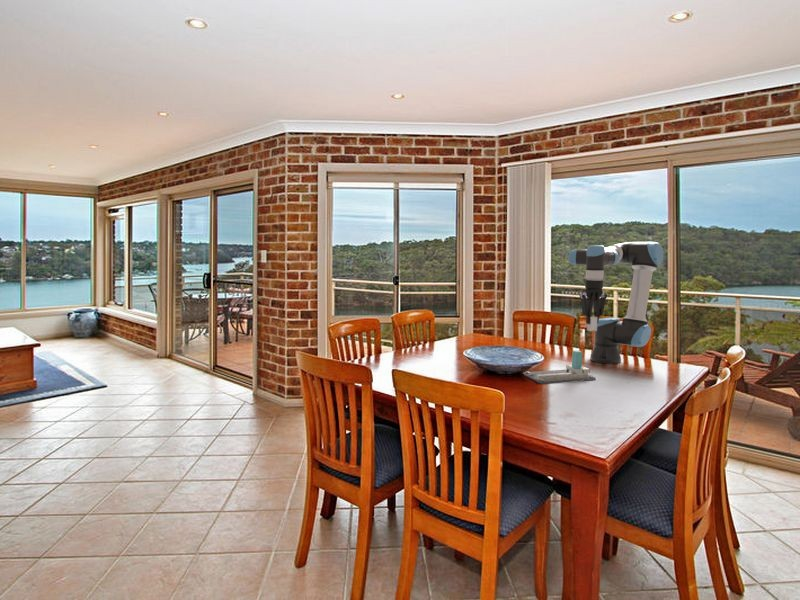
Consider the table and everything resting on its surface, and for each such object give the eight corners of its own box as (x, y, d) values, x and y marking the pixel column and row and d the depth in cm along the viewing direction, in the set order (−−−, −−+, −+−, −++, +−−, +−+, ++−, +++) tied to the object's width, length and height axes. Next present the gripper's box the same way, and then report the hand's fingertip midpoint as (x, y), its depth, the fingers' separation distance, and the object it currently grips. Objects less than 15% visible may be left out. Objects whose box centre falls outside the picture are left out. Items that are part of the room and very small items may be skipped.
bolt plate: (575, 371, 232) (575, 367, 232) (595, 379, 217) (595, 376, 216) (523, 374, 226) (523, 371, 225) (540, 383, 210) (540, 380, 210)
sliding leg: (569, 371, 225) (570, 347, 224) (581, 377, 216) (582, 352, 215) (564, 372, 224) (565, 348, 223) (575, 377, 215) (577, 352, 214)
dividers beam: (577, 372, 226) (577, 364, 226) (589, 377, 217) (589, 369, 216) (529, 375, 220) (530, 366, 220) (540, 380, 211) (540, 372, 211)
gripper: (603, 278, 219) (600, 328, 222) (574, 279, 216) (572, 329, 219) (614, 279, 212) (611, 331, 215) (584, 280, 209) (582, 332, 211)
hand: (591, 330), depth 217 cm, fingers closed
